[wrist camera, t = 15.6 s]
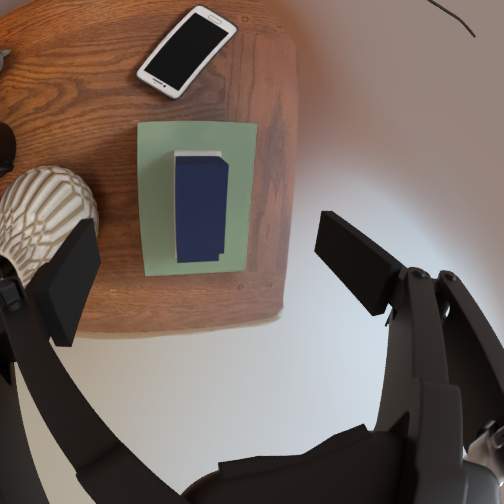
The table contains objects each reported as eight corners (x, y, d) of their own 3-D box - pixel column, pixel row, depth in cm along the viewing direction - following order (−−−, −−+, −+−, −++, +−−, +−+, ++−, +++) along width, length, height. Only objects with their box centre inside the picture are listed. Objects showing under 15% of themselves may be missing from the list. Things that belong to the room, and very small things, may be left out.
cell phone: (239, 30, 30) (241, 28, 29) (176, 103, 33) (176, 102, 32) (198, 4, 26) (198, 1, 25) (133, 77, 29) (132, 76, 29)
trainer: (174, 149, 29) (173, 159, 22) (218, 149, 30) (231, 159, 24) (175, 251, 35) (176, 285, 28) (214, 249, 36) (225, 282, 29)
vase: (119, 243, 40) (92, 329, 23) (42, 260, 37) (-6, 339, 20) (97, 145, 32) (33, 172, 15) (15, 174, 29) (-62, 220, 12)
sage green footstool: (242, 122, 37) (257, 123, 30) (233, 246, 46) (245, 270, 39) (145, 122, 33) (137, 122, 26) (149, 249, 42) (145, 276, 35)
